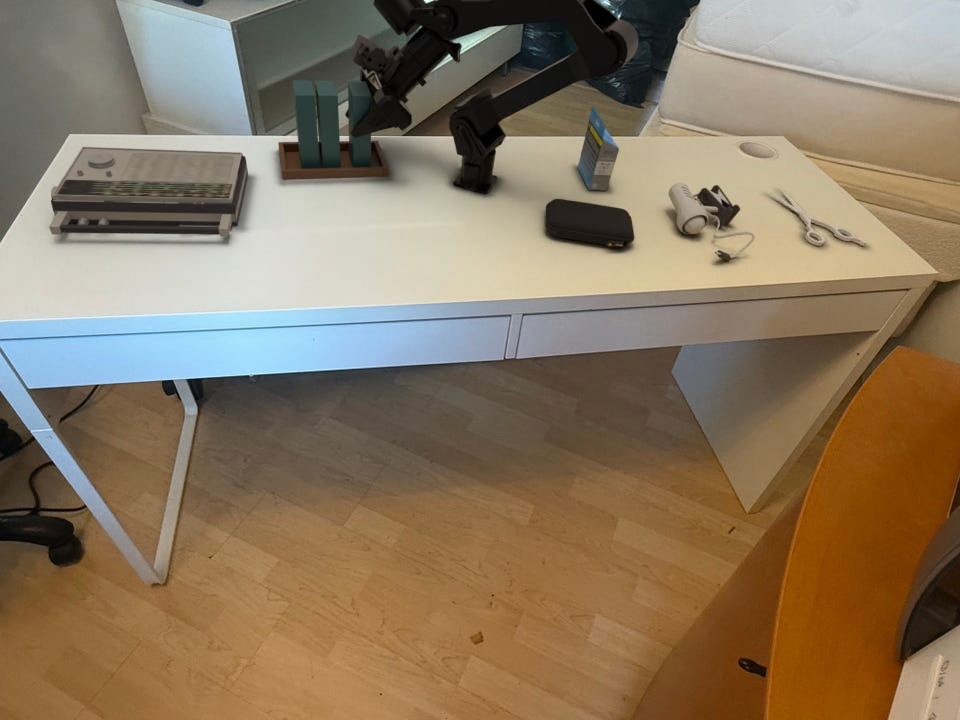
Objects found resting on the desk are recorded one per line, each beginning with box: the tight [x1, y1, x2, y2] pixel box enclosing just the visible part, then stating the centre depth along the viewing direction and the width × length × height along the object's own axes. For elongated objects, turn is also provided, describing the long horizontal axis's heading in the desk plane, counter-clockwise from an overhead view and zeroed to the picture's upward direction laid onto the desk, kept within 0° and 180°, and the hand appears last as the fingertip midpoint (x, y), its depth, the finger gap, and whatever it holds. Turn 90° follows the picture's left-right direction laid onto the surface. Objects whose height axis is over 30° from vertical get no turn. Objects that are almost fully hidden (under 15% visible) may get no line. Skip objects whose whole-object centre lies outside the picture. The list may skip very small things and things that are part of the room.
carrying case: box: [544, 198, 635, 248], centre depth 102 cm, size 11×3×15 cm
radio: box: [48, 146, 249, 237], centre depth 91 cm, size 24×5×20 cm
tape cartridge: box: [577, 104, 620, 192], centre depth 112 cm, size 9×4×12 cm, turn 8°
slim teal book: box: [347, 80, 372, 167], centre depth 105 cm, size 3×6×13 cm, turn 16°
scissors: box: [766, 188, 867, 247], centre depth 115 cm, size 11×1×20 cm
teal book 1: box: [292, 79, 320, 169], centre depth 102 cm, size 3×6×13 cm, turn 16°
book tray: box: [277, 140, 389, 181], centre depth 108 cm, size 18×11×2 cm, turn 106°
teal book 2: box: [314, 80, 341, 168], centre depth 103 cm, size 3×6×13 cm, turn 16°
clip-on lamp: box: [668, 182, 756, 262], centre depth 105 cm, size 12×6×18 cm
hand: (349, 126), depth 104 cm, fingers open, 7 cm apart
